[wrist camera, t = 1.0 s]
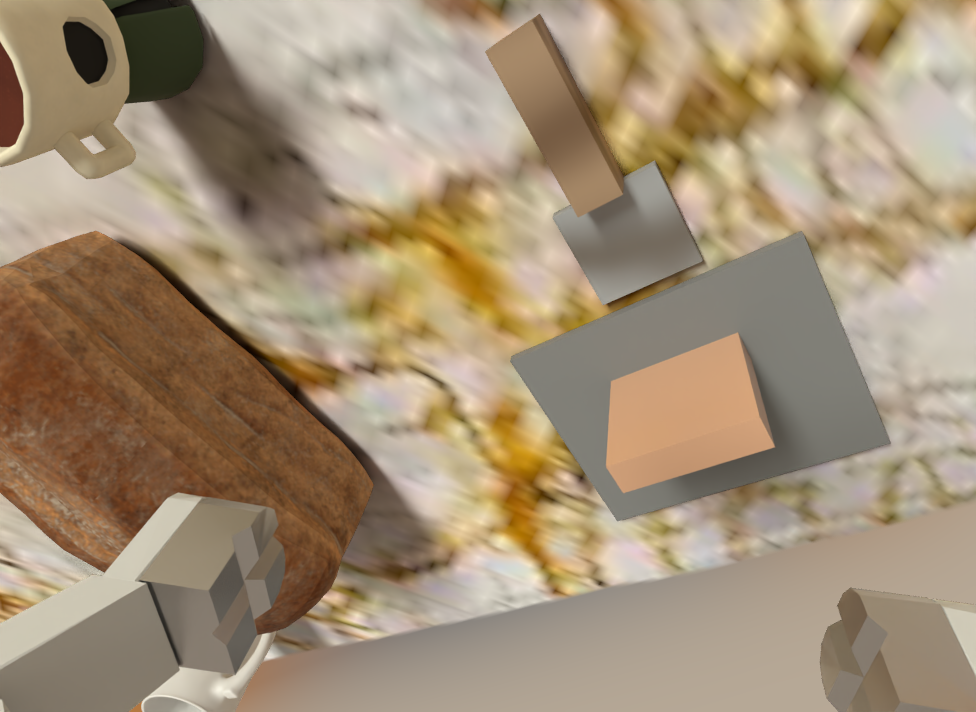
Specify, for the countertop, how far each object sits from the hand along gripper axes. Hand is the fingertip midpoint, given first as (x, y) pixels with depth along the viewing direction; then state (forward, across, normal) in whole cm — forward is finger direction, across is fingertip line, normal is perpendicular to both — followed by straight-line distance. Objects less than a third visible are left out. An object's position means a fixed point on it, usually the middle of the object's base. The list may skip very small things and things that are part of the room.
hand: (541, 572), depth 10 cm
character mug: (+29, +24, -4) cm, 38 cm away
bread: (+30, +26, +20) cm, 44 cm away
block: (+28, -6, +14) cm, 32 cm away
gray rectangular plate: (+29, -8, +16) cm, 34 cm away
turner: (+29, 0, +2) cm, 29 cm away
